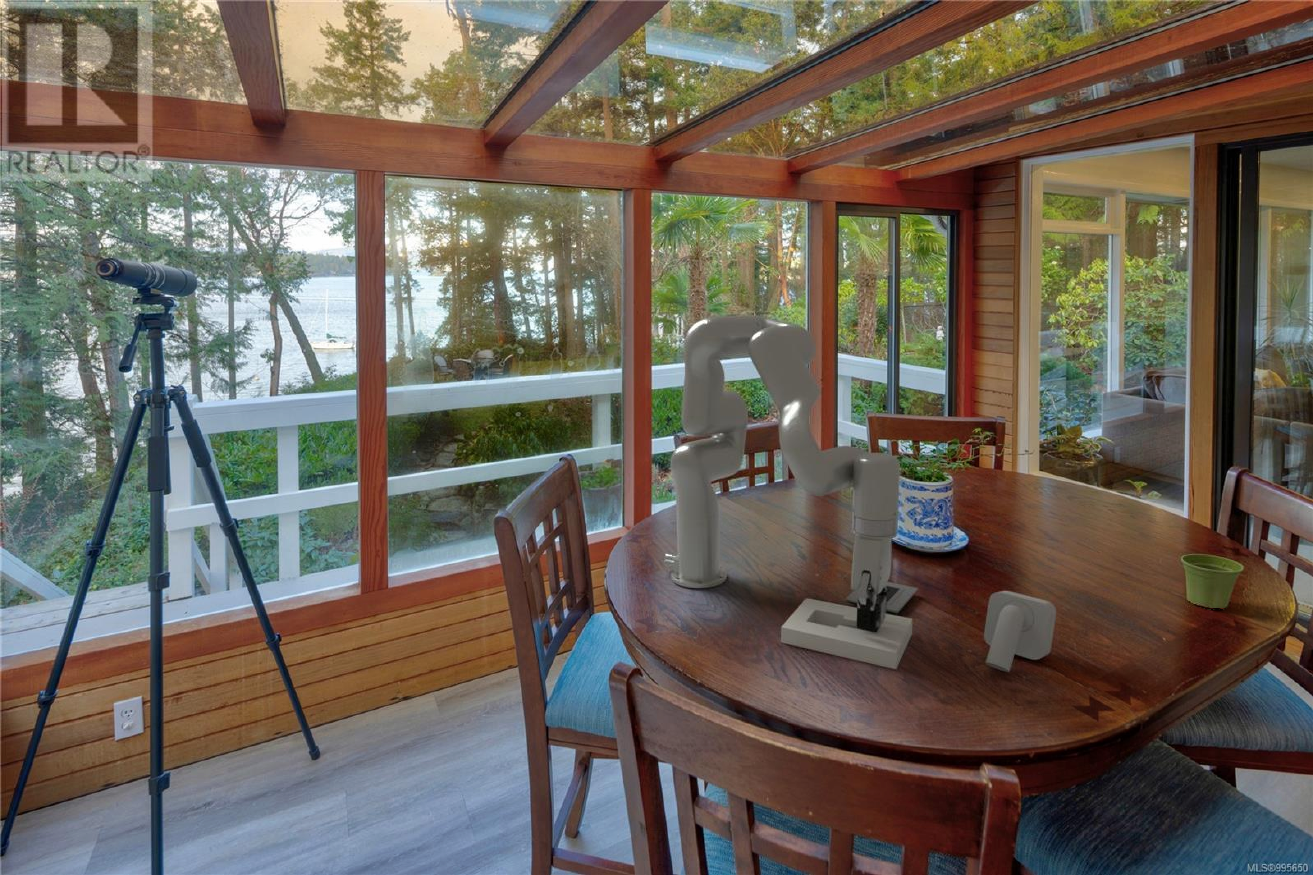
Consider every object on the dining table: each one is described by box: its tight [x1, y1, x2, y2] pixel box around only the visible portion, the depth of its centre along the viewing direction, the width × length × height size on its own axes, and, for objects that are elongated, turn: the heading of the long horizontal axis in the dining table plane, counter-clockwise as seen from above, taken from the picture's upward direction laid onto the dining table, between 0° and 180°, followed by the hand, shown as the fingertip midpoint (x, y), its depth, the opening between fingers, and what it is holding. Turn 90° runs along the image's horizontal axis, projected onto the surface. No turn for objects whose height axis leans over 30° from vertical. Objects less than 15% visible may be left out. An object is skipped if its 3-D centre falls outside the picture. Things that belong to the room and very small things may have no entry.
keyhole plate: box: [780, 597, 913, 670], centre depth 121 cm, size 20×14×3 cm
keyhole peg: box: [861, 594, 887, 633], centre depth 118 cm, size 4×4×9 cm
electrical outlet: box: [844, 581, 919, 615], centre depth 136 cm, size 13×10×2 cm
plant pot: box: [1180, 553, 1245, 608], centre depth 129 cm, size 9×9×9 cm
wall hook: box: [983, 590, 1057, 673], centre depth 111 cm, size 10×12×12 cm
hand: (871, 619), depth 118 cm, fingers open, 7 cm apart
